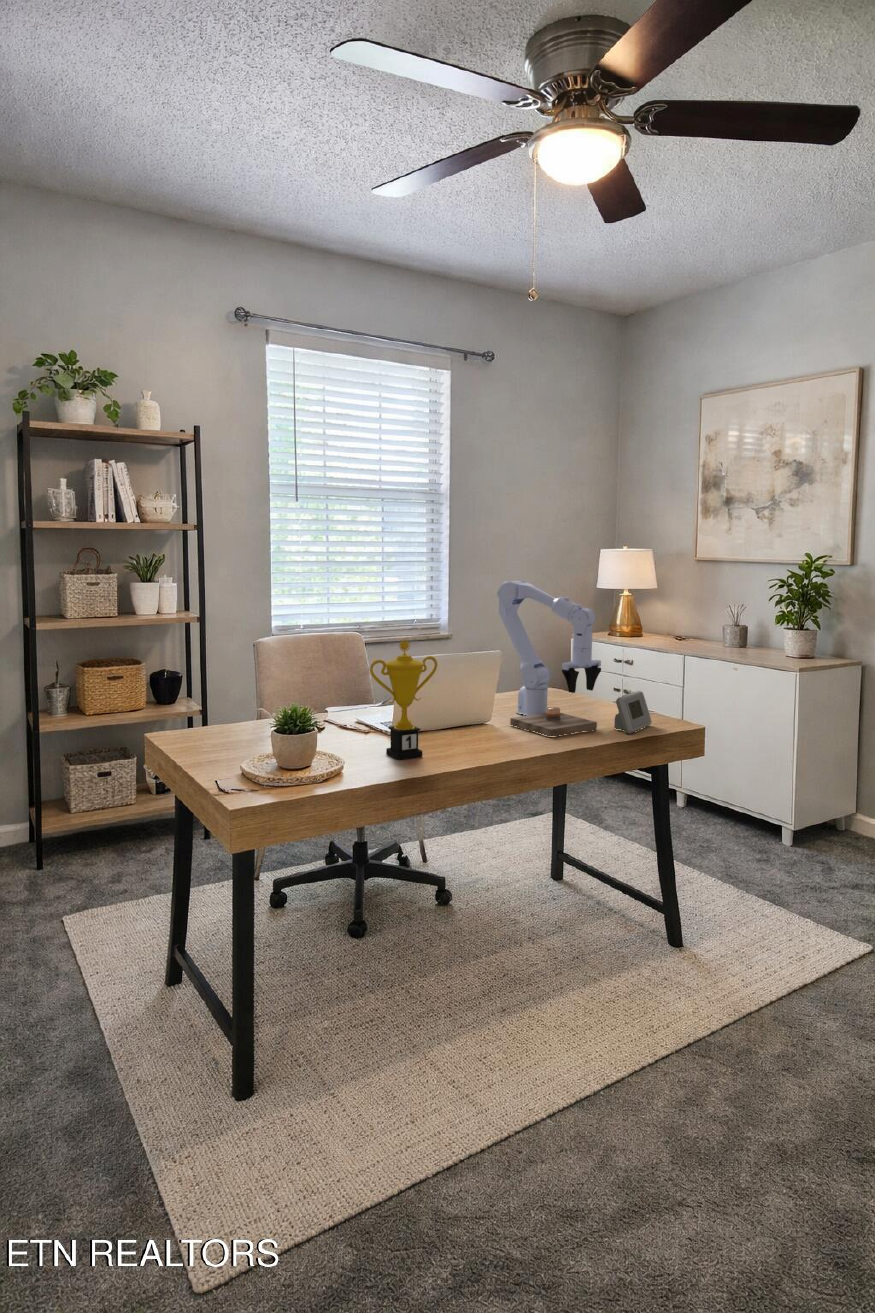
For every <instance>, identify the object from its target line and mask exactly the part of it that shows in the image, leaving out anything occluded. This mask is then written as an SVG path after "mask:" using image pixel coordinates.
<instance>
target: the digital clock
mask: <svg viewBox="0 0 875 1313" xmlns="http://www.w3.org/2000/svg"><path fill="white" fill-rule="evenodd" d="M646 701H647V700H646V698H645V695H644V693H643V691H641V690H637V691H632V692H629V693H627V694H623V695H622V696H620V697H617V699H616V700H615V704H616V708H617V710H618V713H616V714H615V716H614V728H616V729H621V730H624V731H623V732H624V733H625V734H627V733H631V734H632V733H633V732H635V731H637V732H639V731H638V730H640V729H641V728H644V727H646V726H647V727H649V726H650V725H651V724H652V718H651V715H650V711H649V707H648V704H647V702H646ZM648 725H649V726H648ZM647 727H646V728H647ZM614 728H613V729H614ZM644 729H645V728H644ZM640 731H641V730H640ZM635 733H636V732H635ZM633 734H634V733H633Z"/></svg>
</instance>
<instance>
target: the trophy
mask: <svg viewBox="0 0 875 1313" xmlns="http://www.w3.org/2000/svg"><path fill="white" fill-rule="evenodd" d="M398 647H399V650H400V651H401V652H403V654H399V655H397V657H396V658H395V659H391V660H389V661H387V662H385V661H384V660H381V659H376V660H374V661H373V662H372V663H371V664H370V668H369V673H370V675H371V676H372V678H373V679H374V680H375V681H376V682H377V684H378V685H380V686H381V687H382V688H384V689H385V691H387V692H389V693H390V694H391V696H392V697H393V698H392V699H393V700H391V701H389V700H386V701H387V702H388V704H392V703H394V702H395V703H396V705H398V706H399V707H400V708H401V716H400V719H399V720H398V721H397V723H396V724H395V725H393V726H389V727H388V728H387V729H388V730H390V747H386V748H385V749H386V750H385V751H386V755H387V756H390V757H391V758H393V759H395V760H399V761H401V760H408V759H416V758H422V757H423V751H422V749H419V731H421V728H419V727H417V726H415V725H413V723H412V721H411V720H409V718H408V708H409V707H410V706H411V705H412V703H414V700H415V701H420V700H422V697H419V698H417V697H416V695H417V693H418V692H419V690H420V689H422V688H423V686H424V685H425V684H426V683H427V682H429V681H430V679H431V678H432V677H433V675H434V674H435V673H436V671H437V668H438V661H437V659H436V658H435V657H434V656H432V655H429V656H426V657H425V658H424V659H423V660H422V661H419V660H417V659H415V658H413V657H412V655H411V654H410V655H409V654H406V652H407V651H409V649H410V647H411V645H410V642H409V641H408V640H406V639H403V640H401V641H400V642H399V645H398ZM427 660H431V661H433V663H434V666H433V669H432V670H431V672H430V673H429V674H428V675H427V677H425V679H424V680H422V682H420V684H419V681H420V676H421V674H422V673H425V672H426V671H427V669H428V667H427V665H426V662H427ZM377 664H381V665H382V668H381V672H380V673H381V674H382V675H383V676H389V681H390V684H391V685H390V686H391V688H390V687H389V686H387V684H385V683H384V682H382V681H381V680H380V678H378V677H377V676H376V675H375V673H374V671H373V669H374V667H375V665H377ZM385 670H386V672H385Z"/></svg>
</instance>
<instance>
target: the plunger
mask: <svg viewBox="0 0 875 1313" xmlns="http://www.w3.org/2000/svg"><path fill="white" fill-rule="evenodd" d="M560 713H561V708H560V707H558V706H557V707H556V706H547V715H546V717H549V718H559V717H560Z"/></svg>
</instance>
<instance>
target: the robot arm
mask: <svg viewBox="0 0 875 1313" xmlns="http://www.w3.org/2000/svg"><path fill="white" fill-rule="evenodd" d="M496 596H497V597H498V613H499V617H500V619H501V621H502V623H503V625H504V627H505V629H506V631H507V634H508V636H509V638H510V641H511V643H512V645H513V647H514V649H515V652H516V654H517V657H518V658H519V660H520V666H519V670H520V674H521V681H522V684H523V686H522V687H520V689H519V691H518V694H517V711H515V714H518V713H522V714H525V715H534V714H541V713H547V708H548V692H549V691H548V688H549V687H548V685H549V684H548V683H550V681H551V680H552V671H551V670H550V668H549V667H548V666H546V665H545V662H544V660H543V659H542V658H540V657H539V656H538V655H537V653H536V650H535V649H534V646H533V644H532V642H531V640H530V638H529V636H528V634H527V631H526V629H525V626H524V625H523V622H522V621H521V620H522V619H521V618H520V615H519V613H518V610H519V608H520V605H521V604H522V603H523V602H524V600H526V599H531V600H533V601H536V602H538V603H540V604H542V605H544V606H547V607H549V608H551V612H552V613H553V614H554V615H556V616H558V617H560V618H562V619H564V620H565V621H568V622H569V623H570V624H571V625H572V627H573V636H572V637H573V640H572V641H573V642H572V643H573V644H572V661H568V662H562V664H561V666H562V667H561V672H562V674H563V677H564V679H565V681H566V684H567V689H568V693H572V694H576V688H577V680H578V676H579V674H580V671H577V670H578V669H584V672H585V683H586V690H588V691H594V689H595V685H596V682H597V679H598V677H599V675H600V673H601V672H602V660H601V659H592V657H593V656H592V654H593V652H592V650H593V625H594V624H595V622H596V619H597V618H596V613H595V612H594V610H593V609H592V608H591V607H583V604H580V603H579V604H577V603H575V602H573V601H571V600H570V598H569V597H567V596H564V597H563V596H559V597H558V598H557V597H554V596H553V595H551V594H549V593H547V592H546V591H544V590H542V589H540V588H538V587H537V586H535V585H533V584H532V583H530V582H526V581H524V580H522V579H521V580H520V579H518V580H511V581H510V580H505V581H503V582H502V583H501V584H500V585H499V588H498V590H497V592H496ZM525 715H524V716H525Z"/></svg>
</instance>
